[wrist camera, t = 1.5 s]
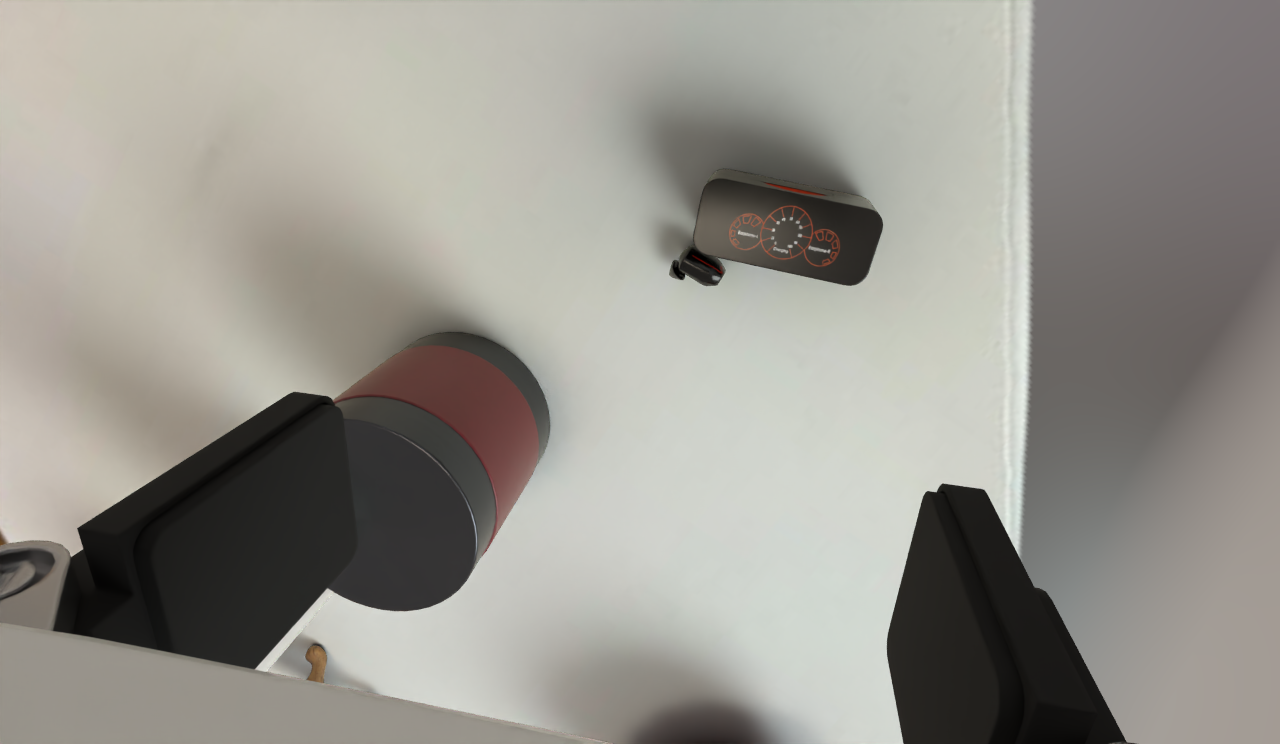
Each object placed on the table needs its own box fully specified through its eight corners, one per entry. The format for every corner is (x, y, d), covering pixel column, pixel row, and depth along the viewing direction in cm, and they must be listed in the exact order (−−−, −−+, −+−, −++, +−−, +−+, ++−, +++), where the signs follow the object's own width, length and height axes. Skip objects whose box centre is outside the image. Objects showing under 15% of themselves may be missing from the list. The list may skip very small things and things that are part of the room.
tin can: (375, 321, 33) (242, 404, 25) (551, 340, 32) (472, 434, 23) (393, 476, 36) (281, 594, 28) (551, 499, 35) (483, 629, 27)
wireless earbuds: (693, 159, 27) (683, 170, 24) (875, 196, 27) (888, 212, 24) (670, 272, 29) (658, 295, 26) (840, 309, 29) (848, 337, 26)
